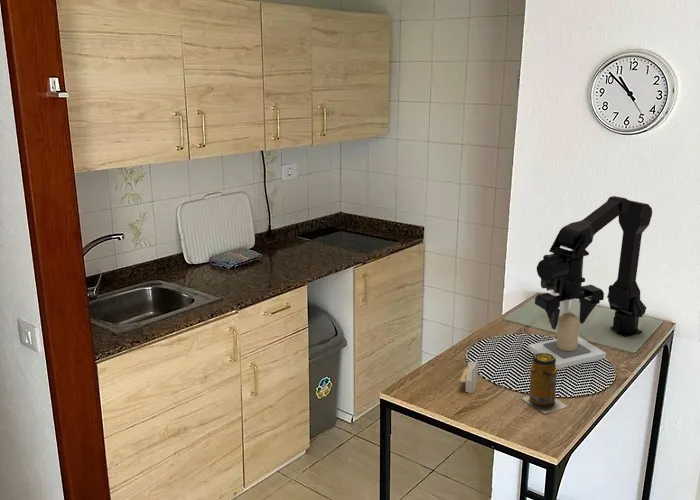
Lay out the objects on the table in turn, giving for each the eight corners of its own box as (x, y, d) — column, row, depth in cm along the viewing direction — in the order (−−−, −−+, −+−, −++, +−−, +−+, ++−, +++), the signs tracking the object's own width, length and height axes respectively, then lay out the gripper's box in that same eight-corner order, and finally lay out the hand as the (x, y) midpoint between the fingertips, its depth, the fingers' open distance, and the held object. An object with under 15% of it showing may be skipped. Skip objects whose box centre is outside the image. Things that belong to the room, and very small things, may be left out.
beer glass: (575, 323, 201) (578, 278, 197) (552, 324, 202) (554, 279, 197) (568, 314, 208) (570, 270, 203) (546, 315, 208) (548, 271, 204)
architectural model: (459, 393, 166) (459, 367, 164) (465, 380, 172) (465, 355, 170) (472, 395, 165) (473, 369, 162) (478, 382, 171) (478, 356, 169)
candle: (578, 352, 179) (580, 318, 176) (557, 351, 180) (559, 317, 177) (576, 343, 184) (578, 310, 181) (555, 342, 185) (557, 310, 182)
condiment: (543, 391, 164) (545, 348, 161) (567, 406, 157) (570, 362, 153) (520, 399, 161) (522, 355, 158) (544, 415, 154) (546, 369, 150)
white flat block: (575, 339, 191) (575, 333, 190) (605, 358, 179) (606, 351, 179) (528, 349, 186) (528, 343, 185) (556, 369, 174) (557, 362, 174)
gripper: (580, 259, 185) (576, 310, 190) (524, 269, 180) (522, 321, 184) (607, 271, 175) (602, 324, 180) (548, 282, 170) (546, 336, 174)
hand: (567, 326), depth 180 cm, fingers open, 9 cm apart
